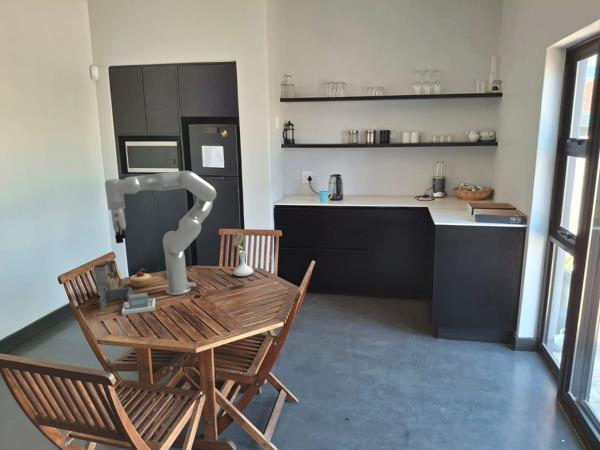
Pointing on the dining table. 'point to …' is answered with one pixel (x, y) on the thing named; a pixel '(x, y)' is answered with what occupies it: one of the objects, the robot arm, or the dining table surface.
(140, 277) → the pastry
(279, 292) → the dining table surface
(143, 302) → the grey chamfered block
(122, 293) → the bay
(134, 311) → the tray
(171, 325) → the dining table surface
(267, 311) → the dining table surface
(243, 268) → the flower in vase
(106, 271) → the coffee box
